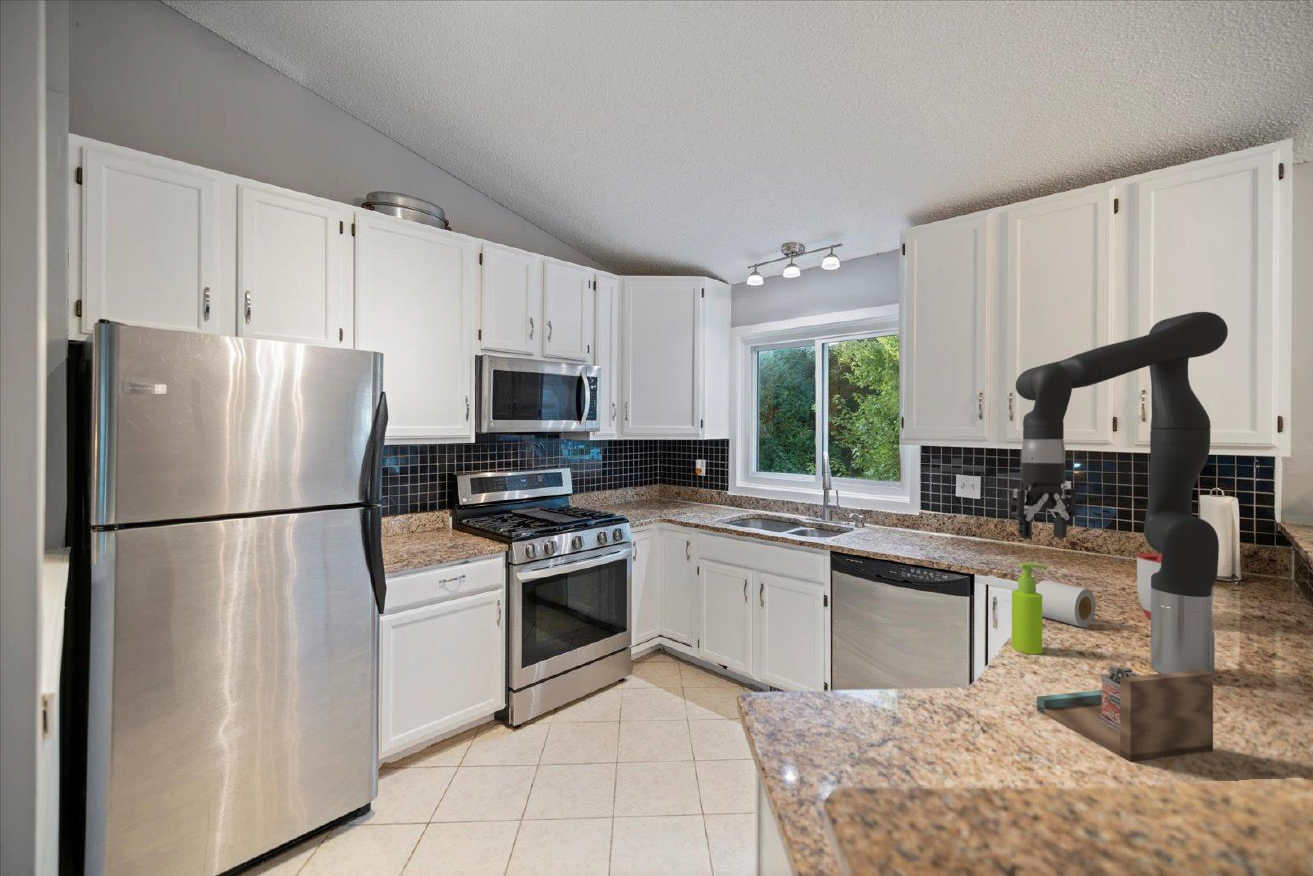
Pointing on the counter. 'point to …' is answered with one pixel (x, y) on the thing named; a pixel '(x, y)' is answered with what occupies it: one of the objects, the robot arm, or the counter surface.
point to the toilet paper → (1067, 603)
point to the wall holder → (1144, 715)
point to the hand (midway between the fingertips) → (1042, 537)
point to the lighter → (1113, 694)
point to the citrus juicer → (1147, 578)
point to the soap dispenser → (1027, 613)
